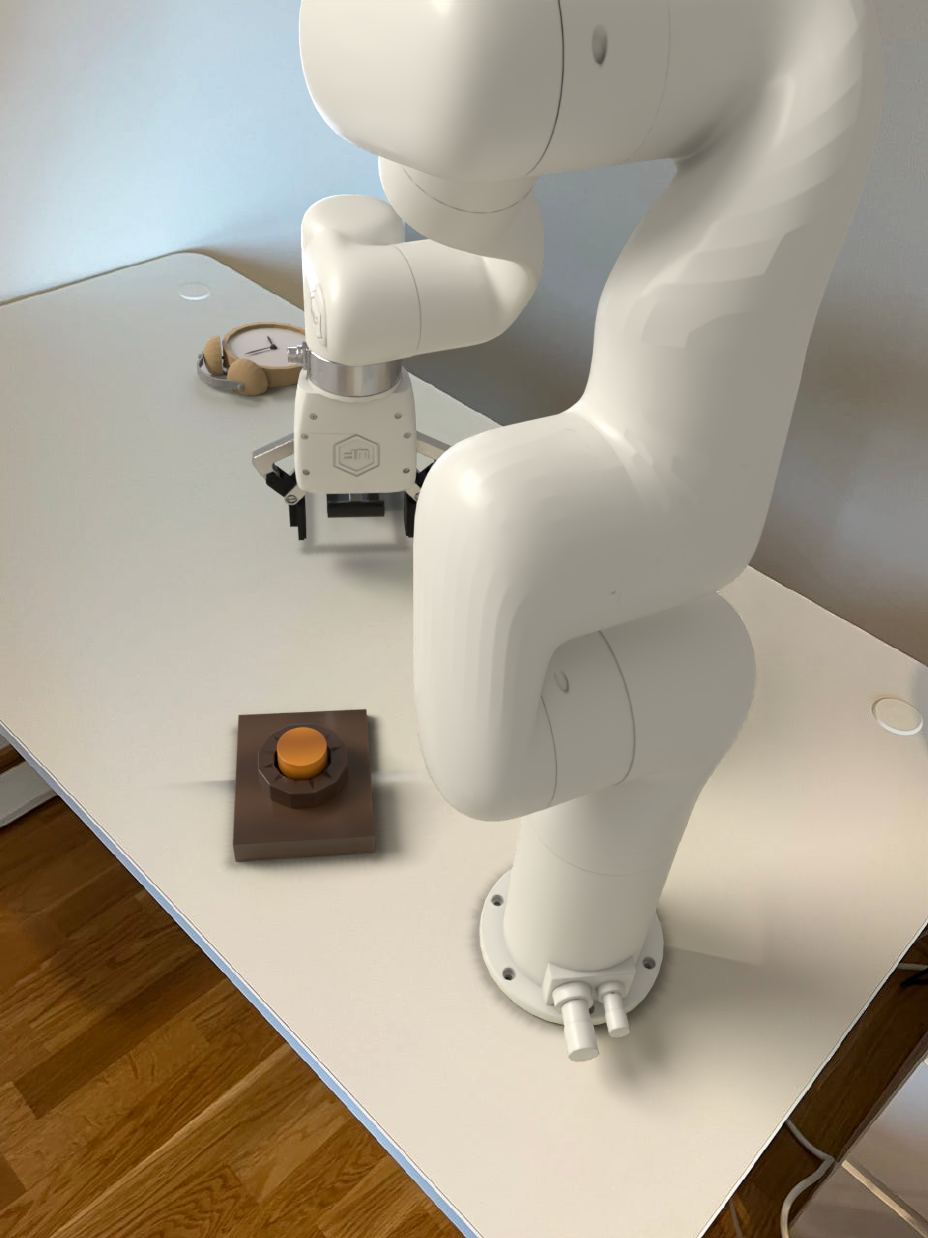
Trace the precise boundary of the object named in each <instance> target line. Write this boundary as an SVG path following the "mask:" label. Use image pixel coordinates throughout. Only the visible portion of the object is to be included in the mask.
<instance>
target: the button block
mask: <svg viewBox="0 0 928 1238" xmlns="http://www.w3.org/2000/svg"><path fill="white" fill-rule="evenodd" d="M237 716H238V717H237V718H238V719H237V735H236V736H237V737H236V738H237V739H236V759H235V780H234V781H235V783H234V803H233V804H234V805H233V807H234V808H233V827H232V828H233V829H232V849H233V856H234V861H235V862H251V861H264V860H265V861H266V860H282V859H296V858H312V857H314V858H315V857H328V856H329V857H330V856H331V857H332V856H344V855H345V856H346V855H361V854H362V855H363V854H375V852H376V829H375V816H374V814H375V813H374V799H373V785H372V771H371V753H370V741H369V724H368V711H367V709H366V708H362V709H360V708H359V709H339V710H338V709H337V710H336V709H335V710H315V711H292V712H291V711H290V712H273V713H272V712H269V713H250V714H249V713H247V714H238V715H237ZM301 727H306V728H311V729H314V730H317V731H318V732H320V733H321V734H322V735H323V736H324V738H325V740H326V743H327V765H326V767H325V769H324V770H323V772H322V773H321V774H319V775H318V776H316V777H314V778H312V779H308V780H294V779H291V778H289V777H287V776H286V775H284V774H283V773H282V772H281V770H280V768H279V765H278V755H277V744H278V741H279V739H280V738H281V737H282V735H284V734H285V733H286V732H288V731H289V730H292V729H295V728H301Z"/></svg>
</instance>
